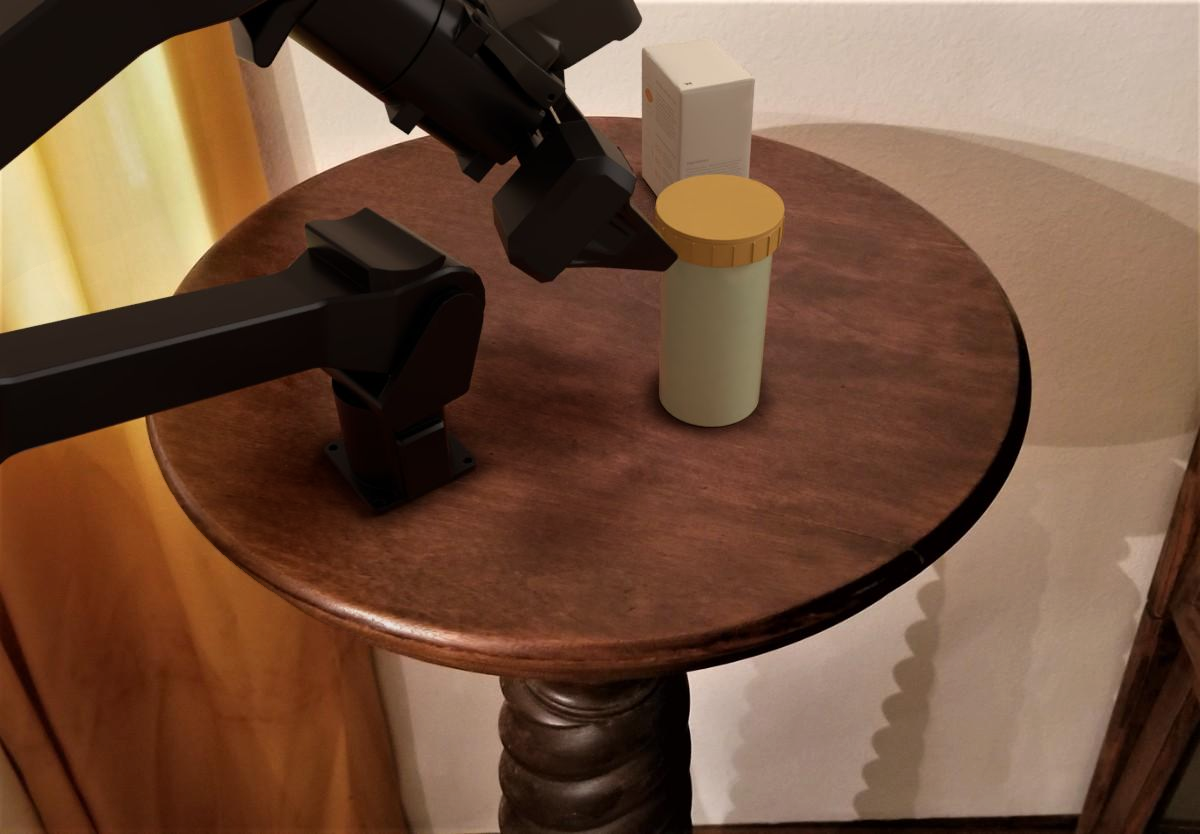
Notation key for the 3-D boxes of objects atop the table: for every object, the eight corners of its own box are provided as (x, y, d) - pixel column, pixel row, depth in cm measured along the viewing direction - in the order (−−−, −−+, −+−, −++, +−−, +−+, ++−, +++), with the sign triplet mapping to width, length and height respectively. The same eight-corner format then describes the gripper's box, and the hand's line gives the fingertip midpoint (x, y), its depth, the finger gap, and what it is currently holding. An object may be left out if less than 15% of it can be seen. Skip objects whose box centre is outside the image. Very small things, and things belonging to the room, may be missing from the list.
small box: (747, 214, 85) (758, 78, 78) (676, 227, 83) (680, 90, 76) (706, 164, 90) (713, 34, 83) (639, 176, 89) (640, 44, 82)
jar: (638, 388, 69) (639, 206, 61) (714, 351, 72) (725, 173, 64) (702, 441, 66) (712, 255, 57) (780, 400, 68) (800, 217, 60)
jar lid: (628, 227, 62) (628, 199, 61) (725, 188, 65) (726, 161, 64) (710, 283, 58) (711, 254, 57) (809, 239, 61) (812, 211, 60)
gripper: (579, -39, 41) (832, 188, 50) (478, -171, 54) (692, 27, 64) (389, 191, 44) (658, 363, 54) (340, 13, 58) (561, 175, 67)
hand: (643, 216), depth 60 cm, fingers open, 9 cm apart
